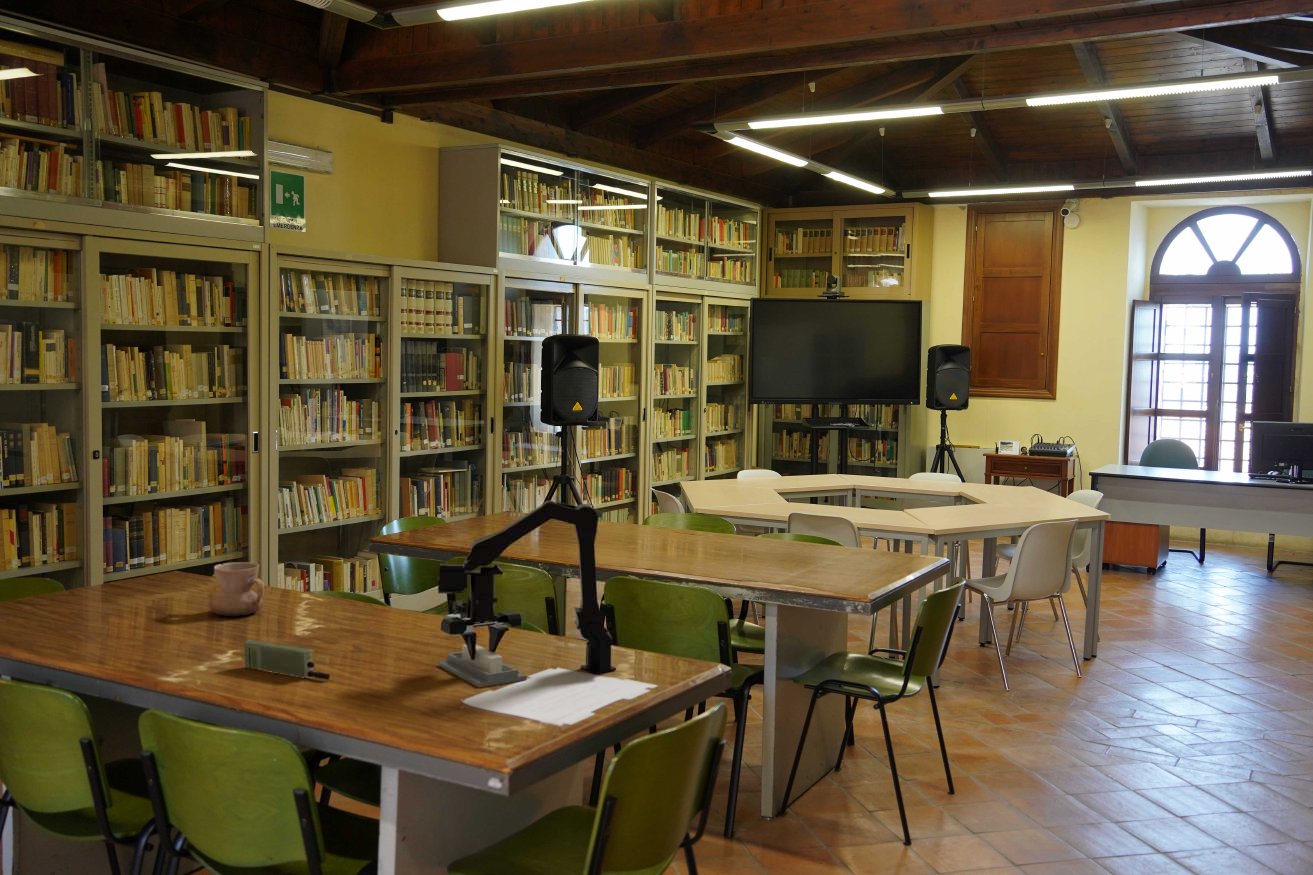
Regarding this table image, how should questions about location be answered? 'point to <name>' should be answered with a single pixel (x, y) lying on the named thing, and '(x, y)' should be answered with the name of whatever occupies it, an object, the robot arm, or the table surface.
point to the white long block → (483, 659)
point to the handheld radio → (281, 659)
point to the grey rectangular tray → (479, 672)
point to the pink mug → (237, 589)
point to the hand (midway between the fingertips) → (481, 658)
